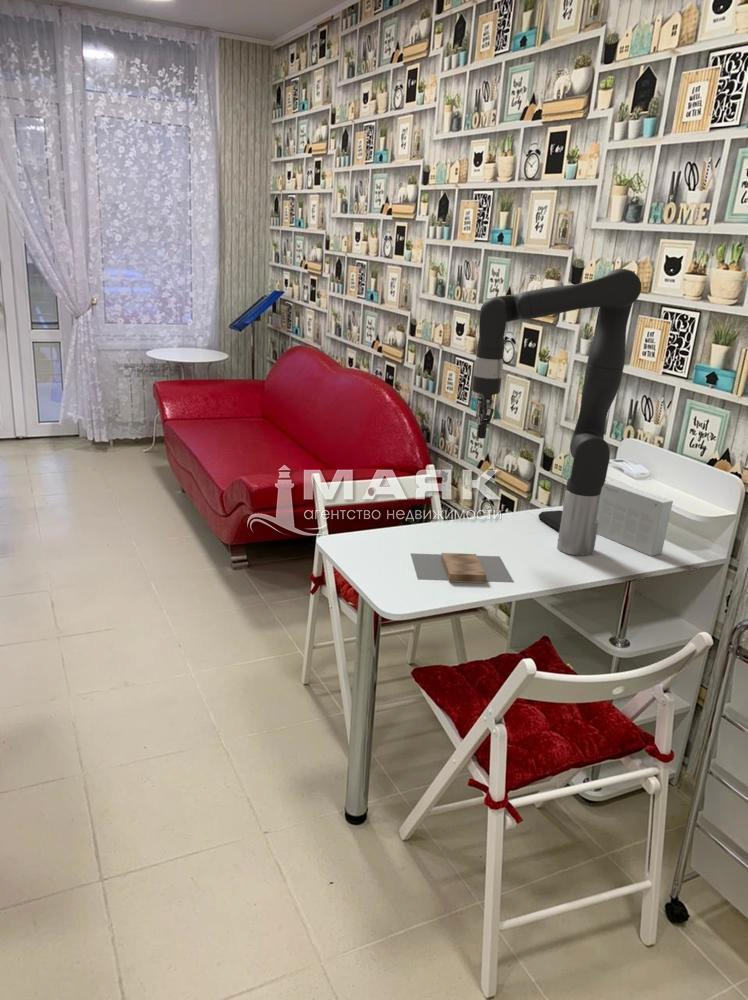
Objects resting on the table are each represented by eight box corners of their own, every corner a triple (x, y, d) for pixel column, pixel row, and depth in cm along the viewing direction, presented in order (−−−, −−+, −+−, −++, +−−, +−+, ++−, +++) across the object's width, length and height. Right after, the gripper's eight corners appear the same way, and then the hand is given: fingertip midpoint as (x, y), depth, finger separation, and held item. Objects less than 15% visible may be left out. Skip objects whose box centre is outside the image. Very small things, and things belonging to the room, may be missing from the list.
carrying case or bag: (592, 534, 224) (564, 517, 237) (593, 524, 223) (565, 508, 236) (561, 536, 220) (535, 519, 233) (563, 527, 219) (536, 510, 232)
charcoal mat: (499, 558, 201) (499, 556, 201) (513, 584, 186) (514, 582, 186) (410, 555, 199) (410, 553, 199) (417, 581, 184) (417, 579, 184)
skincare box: (663, 553, 212) (674, 500, 207) (651, 557, 209) (662, 503, 204) (603, 529, 228) (612, 479, 223) (591, 532, 225) (600, 481, 220)
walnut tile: (475, 554, 196) (486, 575, 183) (475, 561, 196) (485, 583, 184) (441, 552, 195) (449, 573, 183) (440, 560, 196) (448, 582, 183)
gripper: (507, 379, 195) (499, 444, 200) (496, 371, 207) (489, 432, 213) (478, 378, 194) (471, 443, 200) (469, 370, 207) (463, 431, 212)
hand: (480, 437), depth 206 cm, fingers closed
